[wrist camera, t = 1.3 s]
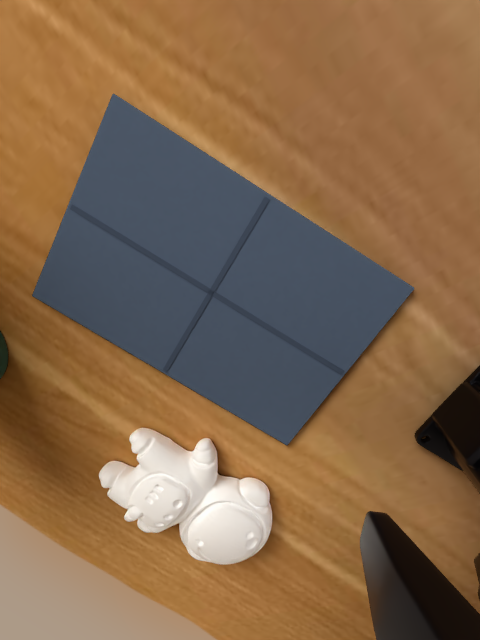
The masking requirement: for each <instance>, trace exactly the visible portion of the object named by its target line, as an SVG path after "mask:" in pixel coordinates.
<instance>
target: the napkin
mask: <svg viewBox="0 0 480 640" xmlns="http://www.w3.org/2000/svg"><path fill="white" fill-rule="evenodd" d="M413 290H414V287H412V286H411V285H409V284H408V283H406V282H404V281H403V280H401V279H400V278H398V277H397V276H395V275H394V274H392V273H391V272H389V271H387V270H386V269H384V268H383V267H381V266H380V265H378V264H377V263H375V262H374V261H372V260H370V259H369V258H367V257H366V256H364V255H363V254H361V253H360V252H358V251H357V250H355V249H353V248H352V247H350V246H349V245H347V244H346V243H344V242H343V241H341V240H339V239H338V238H336V237H335V236H333V235H332V234H330V233H329V232H327V231H326V230H324V229H322V228H321V227H319V226H318V225H316V224H315V223H313V222H312V221H310V220H309V219H307V218H305V217H304V216H302V215H301V214H299V213H298V212H296V211H295V210H293V209H291V208H290V207H288V206H287V205H285V204H284V203H282V202H281V201H279V200H278V199H276V198H274V197H273V196H271V195H270V194H268V193H267V192H265V191H264V190H262V189H261V188H259V187H257V186H256V185H254V184H253V183H251V182H250V181H248V180H247V179H245V178H244V177H242V176H240V175H239V174H237V173H236V172H234V171H233V170H231V169H230V168H228V167H226V166H225V165H223V164H222V163H220V162H219V161H217V160H216V159H214V158H213V157H211V156H209V155H208V154H206V153H205V152H203V151H202V150H200V149H199V148H197V147H196V146H194V145H192V144H191V143H189V142H188V141H186V140H185V139H183V138H182V137H180V136H178V135H177V134H175V133H174V132H172V131H171V130H169V129H168V128H166V127H165V126H163V125H161V124H160V123H158V122H157V121H155V120H154V119H152V118H151V117H149V116H148V115H146V114H144V113H143V112H141V111H140V110H138V109H137V108H135V107H134V106H132V105H131V104H129V103H127V102H126V101H124V100H123V99H121V98H120V97H118V96H117V95H115V94H113V95H112V97H111V100H110V102H109V105H108V107H107V110H106V112H105V115H104V117H103V120H102V122H101V125H100V127H99V130H98V132H97V135H96V137H95V140H94V142H93V145H92V147H91V150H90V152H89V155H88V157H87V160H86V162H85V165H84V167H83V170H82V172H81V175H80V177H79V180H78V182H77V185H76V187H75V190H74V192H73V195H72V197H71V200H70V202H69V205H68V207H67V210H66V212H65V215H64V217H63V220H62V222H61V225H60V227H59V230H58V232H57V235H56V237H55V240H54V242H53V245H52V247H51V250H50V252H49V255H48V257H47V260H46V262H45V265H44V267H43V270H42V272H41V275H40V277H39V280H38V282H37V285H36V287H35V290H34V292H33V295H32V296H33V297H35V298H36V299H38V300H40V301H42V302H43V303H45V304H47V305H48V306H50V307H52V308H53V309H55V310H57V311H59V312H60V313H62V314H64V315H65V316H67V317H69V318H71V319H72V320H74V321H76V322H77V323H79V324H81V325H82V326H84V327H86V328H88V329H89V330H91V331H93V332H94V333H96V334H98V335H100V336H101V337H103V338H105V339H106V340H108V341H110V342H111V343H113V344H115V345H117V346H118V347H120V348H122V349H123V350H125V351H127V352H129V353H130V354H132V355H134V356H135V357H137V358H139V359H140V360H142V361H144V362H146V363H147V364H149V365H151V366H152V367H154V368H156V369H158V370H159V371H161V372H163V373H164V374H166V375H168V376H169V377H171V378H173V379H175V380H176V381H178V382H180V383H181V384H183V385H185V386H187V387H188V388H190V389H192V390H193V391H195V392H197V393H198V394H200V395H202V396H204V397H205V398H207V399H209V400H210V401H212V402H214V403H216V404H217V405H219V406H221V407H222V408H224V409H226V410H227V411H229V412H231V413H233V414H234V415H236V416H238V417H239V418H241V419H243V420H245V421H246V422H248V423H250V424H251V425H253V426H255V427H256V428H258V429H260V430H262V431H263V432H265V433H267V434H268V435H270V436H272V437H274V438H275V439H277V440H279V441H280V442H282V443H284V444H285V445H288V444H289V443H290V441H291V440H292V439H293V438H294V437H295V435H296V434H297V433H298V432H299V430H300V429H301V428H302V427H303V425H304V424H305V423H306V422H307V421H308V419H309V418H310V417H311V416H312V414H313V413H314V412H315V411H316V409H317V408H318V407H319V406H320V404H321V403H322V402H323V401H324V400H325V398H326V397H327V396H328V395H329V393H330V392H331V391H332V390H333V388H334V387H335V386H336V385H337V384H338V382H339V381H340V380H341V379H342V377H343V376H344V375H345V374H346V372H347V371H348V370H349V369H350V367H351V366H352V365H353V364H354V363H355V361H356V360H357V359H358V358H359V356H360V355H361V354H362V353H363V351H364V350H365V349H366V348H367V347H368V345H369V344H370V343H371V342H372V340H373V339H374V338H375V337H376V335H377V334H378V333H379V332H380V330H381V329H382V328H383V327H384V326H385V324H386V323H387V322H388V321H389V319H390V318H391V317H392V316H393V314H394V313H395V312H396V311H397V310H398V308H399V307H400V306H401V305H402V303H403V302H404V301H405V300H406V298H407V297H408V296H409V295H410V293H411V292H412V291H413Z"/></svg>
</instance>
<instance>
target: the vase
mask: <svg viewBox="0 0 480 640" xmlns="http://www.w3.org/2000/svg"><path fill="white" fill-rule="evenodd" d="M7 365H8V349H7V345H6V342H5V340H4V337H3V335H2V333H1V331H0V379H1V377H2V376H3V375H4V373H5V371H6V368H7Z"/></svg>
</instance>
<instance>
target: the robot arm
mask: <svg viewBox="0 0 480 640" xmlns="http://www.w3.org/2000/svg"><path fill="white" fill-rule="evenodd" d="M423 436H427V437H426V438H425V439H422V437H423ZM415 439H416V441H417V442H418V444H419V445H421V446H422V447H424V448H426V449H427V450H429V451H431V452H432V453H434V454H436V455H437V456H439V457H441V458H442V459H444V460H445V461H447V462H449V463H450V464H452V465H454V466H455V467H457V468H459V469H460V470H462V471H464V472H465V474H466V475H467V477H468V478H469V479H470V481H471V482H472V484H473V485H474V487H475V488H476V489H477V491H478V492H479V494H480V365H479V367H478V368H477V369H476V370H475V371H474V372H473V373H472V374H471V375H470V376H469V377H468V378H467V379H466V380H465V381H464V382H463V383H462V384H461V385H460V386H459V387H458V388H457V389H456V390H455V391H454V392H453V393H452V394H451V395H450V396H449V397H448V398H447V399H446V400H445V401H444V402H443V403H442V404H441V405H440V406H439V407H438V409H437V410H436V411H435V412H434V413H433V414H432V415H431V416H430V417H429V419H428V420H427V421H426V422H425V423H424V424H423V425H422V426H421V427H420V428H419V429H418V430H417V431H416V433H415ZM360 549H361V555H362V561H363V567H364V573H365V579H366V585H367V591H368V597H369V603H370V609H371V615H372V621H373V626H374V631H375V635H376V639H377V640H480V614H479V613H478V612H477V611H476V610H475V609H474V608H473V607H472V606H471V604H470V603H469V602H468V601H467V600H466V599H465V598H464V597H463V596H462V595H461V594H460V592H459V591H458V590H457V589H456V588H455V587H454V586H453V585H452V584H451V583H450V582H449V581H448V579H447V578H446V577H445V576H444V575H443V574H442V573H441V572H440V571H439V570H438V569H437V567H436V566H435V565H434V564H433V563H432V562H431V561H430V560H429V559H428V558H427V557H426V556H425V554H424V553H423V552H422V551H421V550H420V549H419V548H418V547H417V546H416V545H415V544H414V542H413V541H412V540H411V539H410V538H409V537H408V536H407V535H406V534H405V533H404V532H403V531H402V529H401V528H400V527H399V526H398V525H397V524H396V523H395V522H394V521H393V520H392V519H391V517H390V516H389V515H387V514H386V513H382V512H373V511H369V512H368V513H367V514H366V517H365V521H364V525H363V529H362V533H361V537H360ZM474 563H475V568H476V572H477V576H478V581H479V589H478V596H479V600H480V553H479V554H478V555H477V557H476V558H475V559H474Z"/></svg>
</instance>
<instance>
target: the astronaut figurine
mask: <svg viewBox="0 0 480 640" xmlns="http://www.w3.org/2000/svg"><path fill="white" fill-rule="evenodd" d="M129 440H130V442H131V444H132V451H133V453H138V455H137V461H138V462H139V463H140V464H139V465H138V466H137V467H136V468H135V467H132V466H129V465H127V464H125V463H123V462H119V461H110V462H108V463H107V464H106V465H105V466H103V468H102V469H101V471H100V473H99V478H100V480H101V485H102V487H103V488H109V490H108V493H107V495H108V497H109V498H111V499H112V500H113V501H115V502H116V503H117V504H119V505H120V506H122V507H123V508H126V509H128V511H127V512H126V514H125V515H124V518H125V520H126V521H129V522H130V521H134V520H136V519H138V522H137V525H138V527H139V529H141V530H142V531H144V532H147V533H149V532H153V533H158V532H161V531H163V530H165V529H167V528H169V527H171V526H174V525H176V524H178V523H179V530H180V537H181V540H182V542H183V544H184V545H185V546H186V548H187V551H188V552H189V554H190V555H191V556H192V557H193V558H195V559H197V560H200V561H207V562H212V563H216V564H224V565H225V564H233V563H237V562H241V561H243V560H246V559H248V558H250V557H251V556H253V555H255V554H256V553H257V552H258V551H259V550H260V549H261V548H262V547H263V546H264V545H265V543H266V541H267V539H268V537H269V534H270V531H271V527H272V509H271V505H270V503H269V500H270V493H269V489H268V487H267V486H266V485H265V484H264V483H263V482H262V481H260V480H258V479H256V478H251V477H247V478H243V479H241V480H239V479H237V478H233V477H225V476H221V475H219V474H218V473H217V471H218V461H217V451H216V448H215V446H214V444H213V443H212V441H211V440H210V439H209V438H204V439H201V440H200V441H199V442H198V443H197V445H196V447H195V449H194V451H187V450H185V449H184V448H182V447H181V446H179V445H178V444H176V443H175V442H173V441H172V440H171V439H170V438H168V437H165V436H164V435H162V434H160V433H158V432H156V431H154V430H152V429H148V428H139V429H137V430H135V431H134V432H133V433H132V434H131V435H130V438H129Z"/></svg>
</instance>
